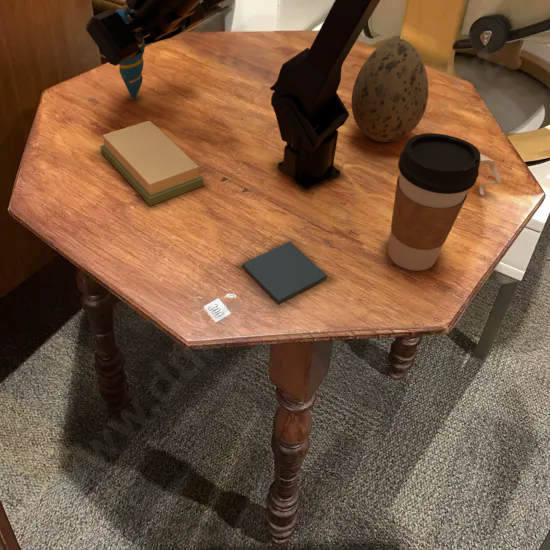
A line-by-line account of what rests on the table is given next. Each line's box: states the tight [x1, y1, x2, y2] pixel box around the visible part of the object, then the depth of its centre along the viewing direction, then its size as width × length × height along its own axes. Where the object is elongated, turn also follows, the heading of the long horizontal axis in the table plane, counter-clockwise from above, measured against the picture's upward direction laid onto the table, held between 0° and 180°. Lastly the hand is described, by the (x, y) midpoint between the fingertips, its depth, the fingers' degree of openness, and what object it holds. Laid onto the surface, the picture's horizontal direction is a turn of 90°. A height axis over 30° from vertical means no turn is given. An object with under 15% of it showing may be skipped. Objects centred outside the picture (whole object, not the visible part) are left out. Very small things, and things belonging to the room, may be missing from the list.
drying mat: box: [241, 241, 328, 304], centre depth 70 cm, size 7×7×1 cm
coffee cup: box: [387, 132, 481, 272], centre depth 68 cm, size 8×8×15 cm
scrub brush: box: [100, 120, 205, 207], centre depth 82 cm, size 8×14×3 cm, turn 37°
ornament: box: [115, 0, 146, 100], centre depth 90 cm, size 5×5×15 cm
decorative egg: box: [350, 37, 429, 143], centre depth 86 cm, size 11×11×15 cm
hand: (122, 49), depth 91 cm, fingers closed on ornament, 5 cm apart
